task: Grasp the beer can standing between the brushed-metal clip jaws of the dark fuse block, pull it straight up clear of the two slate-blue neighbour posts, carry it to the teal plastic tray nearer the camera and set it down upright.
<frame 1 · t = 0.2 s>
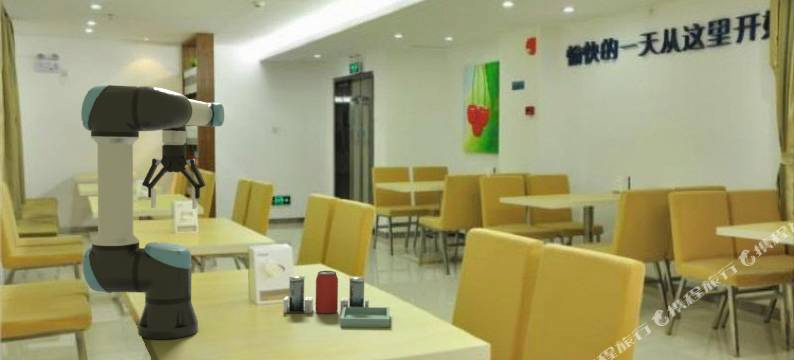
hand: (174, 208, 234), 28 cm above the table, fingers open, 13 cm apart
beer can: (326, 312, 211), on the table
tray: (365, 320, 202), on the table
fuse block: (326, 311, 211), on the table
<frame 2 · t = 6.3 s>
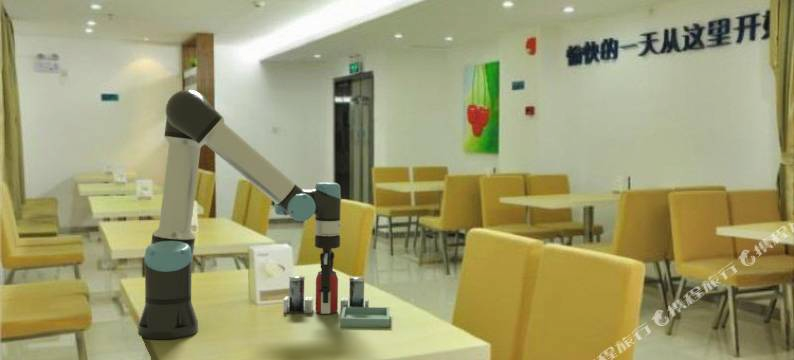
hand: (326, 310, 211), 0 cm above the table, fingers closed on beer can, 7 cm apart
beer can: (326, 312, 211), on the table, touching gripper
when the fingers open (4 cm above the table, at t = 14.7 s): beer can drops 3 cm, resting on tray.
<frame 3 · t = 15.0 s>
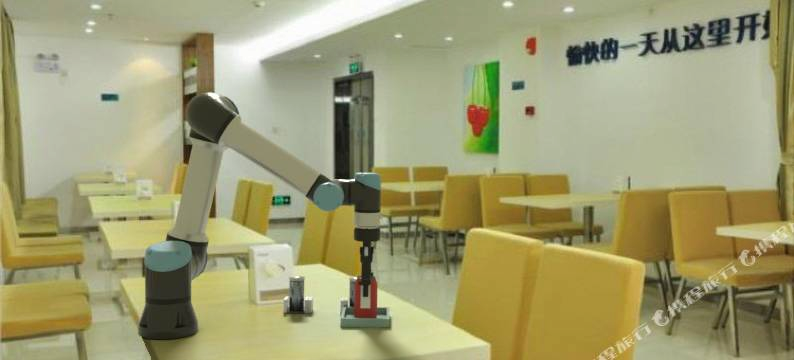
hand: (365, 303, 201), 5 cm above the table, fingers open, 11 cm apart
beer can: (365, 319, 202), resting on tray
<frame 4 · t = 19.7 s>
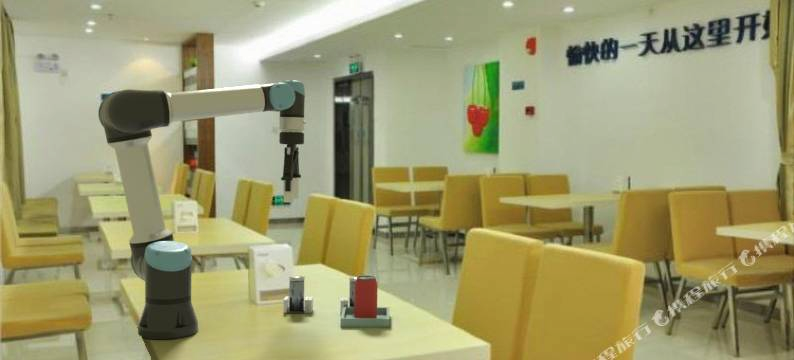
hand: (291, 200, 217), 33 cm above the table, fingers open, 13 cm apart
nothing on the table moved.
at the end: beer can inside the target area on the tray (0.4 cm from its centre), point 0.4 cm above the tray's base; beer can tilted 0°; the gripper is holding nothing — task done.
